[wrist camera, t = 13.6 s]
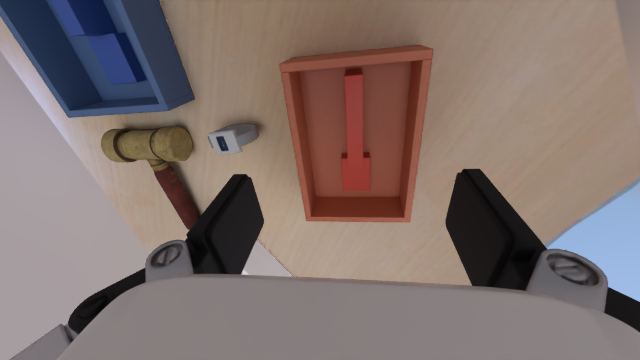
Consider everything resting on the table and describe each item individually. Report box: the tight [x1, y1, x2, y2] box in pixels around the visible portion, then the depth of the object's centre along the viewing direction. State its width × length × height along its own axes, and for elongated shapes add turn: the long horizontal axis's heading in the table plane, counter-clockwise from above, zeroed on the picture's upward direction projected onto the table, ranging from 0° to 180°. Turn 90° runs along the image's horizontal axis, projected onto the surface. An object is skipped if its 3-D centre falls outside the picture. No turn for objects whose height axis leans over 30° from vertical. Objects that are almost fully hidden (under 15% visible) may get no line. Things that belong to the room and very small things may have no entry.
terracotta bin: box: [279, 45, 433, 222], centre depth 28 cm, size 20×14×5 cm
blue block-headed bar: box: [50, 0, 146, 85], centre depth 24 cm, size 15×4×4 cm, turn 6°
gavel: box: [101, 127, 200, 230], centre depth 37 cm, size 21×5×10 cm
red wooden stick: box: [341, 68, 370, 191], centre depth 28 cm, size 15×4×4 cm, turn 6°
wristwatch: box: [208, 124, 259, 155], centre depth 30 cm, size 6×3×5 cm, turn 100°
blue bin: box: [0, 0, 195, 118], centre depth 24 cm, size 20×14×5 cm
